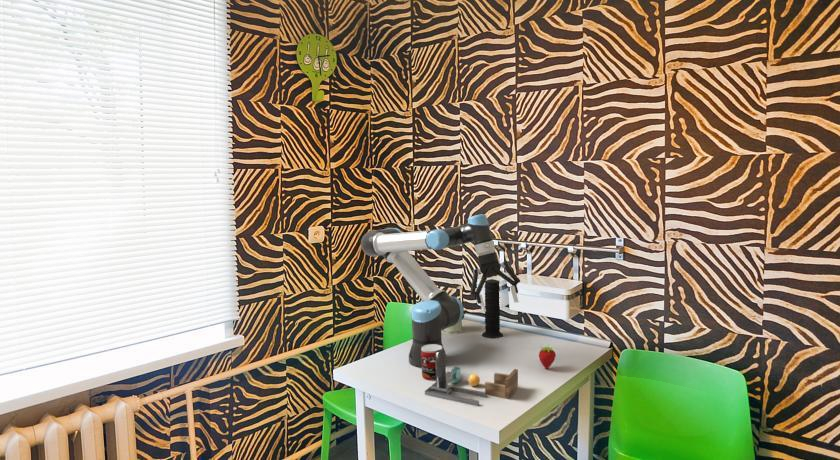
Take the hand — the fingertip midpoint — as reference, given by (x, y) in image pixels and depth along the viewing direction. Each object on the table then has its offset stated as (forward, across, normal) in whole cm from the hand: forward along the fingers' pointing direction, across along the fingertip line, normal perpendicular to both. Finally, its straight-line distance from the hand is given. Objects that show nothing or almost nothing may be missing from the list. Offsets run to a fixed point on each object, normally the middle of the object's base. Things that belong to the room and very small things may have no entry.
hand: (500, 306), depth 189 cm
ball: (+22, -21, -12) cm, 33 cm away
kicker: (+20, -30, -11) cm, 38 cm away
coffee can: (+11, -10, +50) cm, 52 cm away
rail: (+22, -29, -18) cm, 41 cm away
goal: (+25, -13, -18) cm, 34 cm away
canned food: (+18, -32, -1) cm, 37 cm away
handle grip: (+16, +6, +39) cm, 43 cm away
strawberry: (+27, +10, -4) cm, 29 cm away
